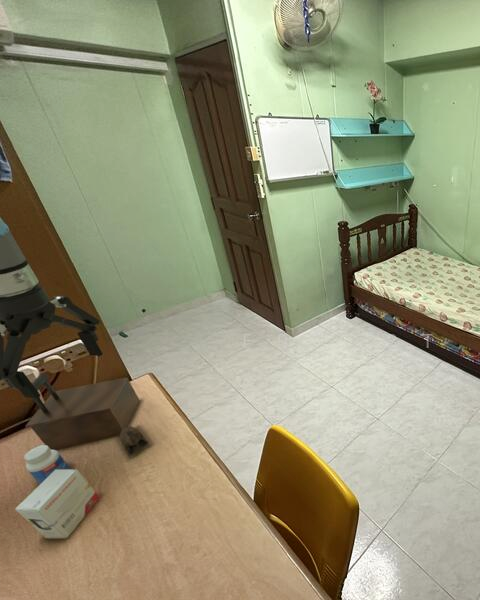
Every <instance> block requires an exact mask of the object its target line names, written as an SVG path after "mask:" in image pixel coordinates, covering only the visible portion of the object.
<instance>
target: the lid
mask: <svg viewBox="0 0 480 600" xmlns="http://www.w3.org/2000/svg"><path fill="white" fill-rule="evenodd" d="M49 378H50V377H49V375H47V374H44V373H42V374H39V375H38V376H36V378H35V379H34V380H33V381H32V382H31V383H32V384H33V386H34V387H35V389H36V390H37V391H38V392H39V390H40V389H41V388H42V386H43V385H44V387H45V388H46V390H47V391H48V392H49V394H50V395H49V397H48V398H47V399H46V400H45V401H44V402H43V401H42V399H40V397H38V398H32V400H33V401H34V402H35V404H36V405H37V406H38V408H39V409H37V411H36V412H35V413H34V414H33V415H32V417H31V418H30V420H28V422H27V423H26V424H25V428H26V429H29V428H31V427H35V426H39V425H44V424H49V423H53V422H58V421H63V420H67V419H72V418H77V417H81V416H86V415H91V414H95V413H100V412H105V411H109V410H111V409H112V407H113V405H114V403H115V401H116V400H117V398H118V396H119V394H120V393H121V391H122V389H123V387H124V386H125V384H126V382H127V380H129V378H128V377H127V376H126V377H121V378H116V379H112V380H105V381H101V382H96V383H90V384H85V385H84V384H83V385H79V386H74V387H70V388H69V387H68V388H64V389H59V390H55V389H54V388H53V386H52V385H51V384H50V382H49V381H48V380H49Z"/></svg>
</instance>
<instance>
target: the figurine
mask: <svg viewBox="0 0 480 600" xmlns="http://www.w3.org/2000/svg"><path fill="white" fill-rule="evenodd" d="M118 439H119V441H120V442H121V444H122V445H123V447H124V449H125V450H126V452H127V454H128V455H129V457H130V459H131V458H133V457H135V456H137V455H138V454H140V453H142V452H143V451H144V450H146V449H148V448H149V447H151V444H150V442H149V440H148V439H147V438H146V437H145V435H144V434H143V432H142V431H141V429H140V428H139V427H138V426H137V427H134V426H130V425H129V426H128V427H125V428H123V429H122V431H121V433H120V434H119V437H118Z"/></svg>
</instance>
